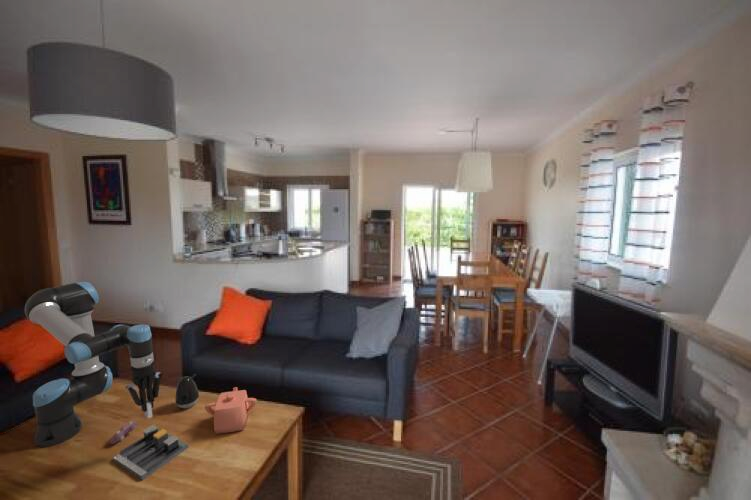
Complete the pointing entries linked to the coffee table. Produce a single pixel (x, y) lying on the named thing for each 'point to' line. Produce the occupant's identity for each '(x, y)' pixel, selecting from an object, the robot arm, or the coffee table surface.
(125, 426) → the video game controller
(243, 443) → the coffee table surface
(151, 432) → the panel
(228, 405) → the teapot
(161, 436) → the breaker
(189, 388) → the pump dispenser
